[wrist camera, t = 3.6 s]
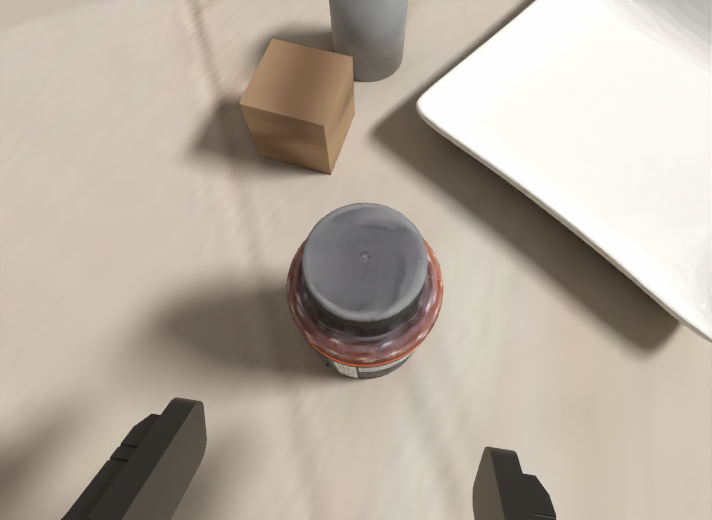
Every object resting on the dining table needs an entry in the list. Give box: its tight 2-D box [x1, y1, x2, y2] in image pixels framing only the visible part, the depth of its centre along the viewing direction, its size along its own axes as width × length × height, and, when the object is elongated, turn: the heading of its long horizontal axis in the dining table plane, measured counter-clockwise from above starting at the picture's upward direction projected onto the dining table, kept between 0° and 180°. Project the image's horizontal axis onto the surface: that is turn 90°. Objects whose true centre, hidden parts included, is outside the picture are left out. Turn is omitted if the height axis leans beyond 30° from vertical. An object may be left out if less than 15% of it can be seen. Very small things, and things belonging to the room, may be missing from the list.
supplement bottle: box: [286, 203, 443, 379], centre depth 18 cm, size 6×6×11 cm
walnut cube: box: [239, 38, 355, 175], centre depth 26 cm, size 5×5×5 cm
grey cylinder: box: [329, 0, 408, 82], centre depth 28 cm, size 5×5×6 cm
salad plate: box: [416, 0, 712, 342], centre depth 26 cm, size 21×21×3 cm
